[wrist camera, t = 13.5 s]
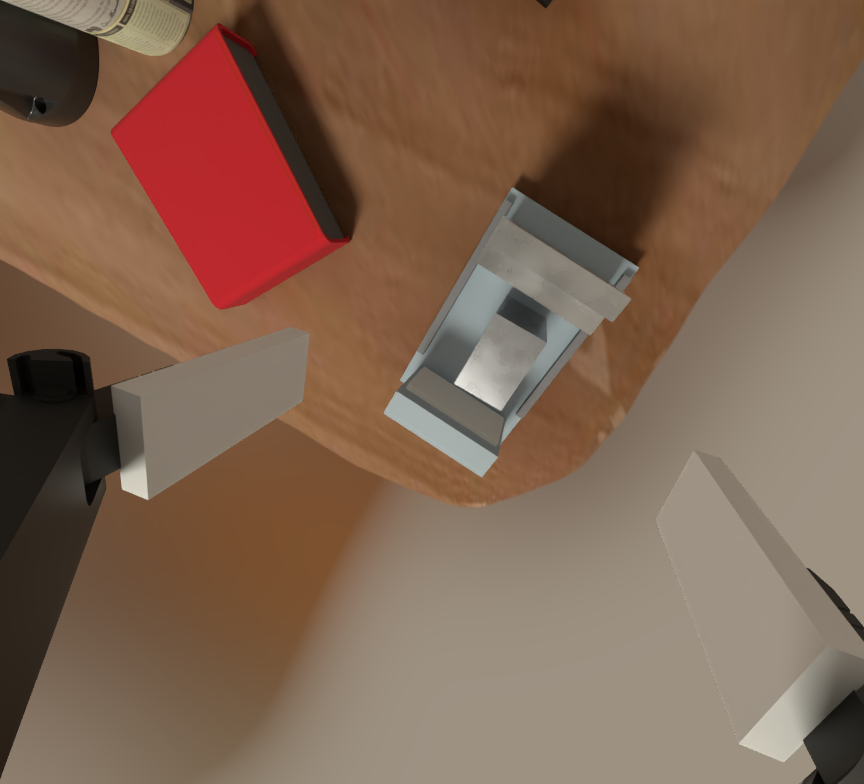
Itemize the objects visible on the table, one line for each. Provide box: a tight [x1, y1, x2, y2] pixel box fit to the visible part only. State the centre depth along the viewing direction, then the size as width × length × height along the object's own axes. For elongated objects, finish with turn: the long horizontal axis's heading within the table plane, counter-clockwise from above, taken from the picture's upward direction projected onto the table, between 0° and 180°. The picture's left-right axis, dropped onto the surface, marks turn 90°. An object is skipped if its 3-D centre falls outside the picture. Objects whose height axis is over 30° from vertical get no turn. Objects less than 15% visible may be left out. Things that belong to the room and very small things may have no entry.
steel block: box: [454, 295, 547, 411], centre depth 33 cm, size 4×6×9 cm, turn 152°
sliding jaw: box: [476, 216, 631, 335], centre depth 28 cm, size 10×4×12 cm, turn 60°
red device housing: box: [111, 23, 350, 309], centre depth 38 cm, size 18×14×5 cm
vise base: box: [384, 187, 639, 477], centre depth 34 cm, size 12×20×8 cm, turn 150°
